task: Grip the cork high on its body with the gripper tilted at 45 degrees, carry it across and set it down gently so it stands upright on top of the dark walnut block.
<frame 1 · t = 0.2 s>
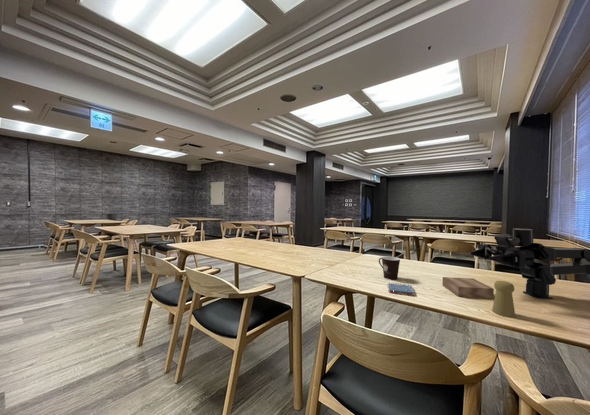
hand: (479, 255, 96), 17 cm above the table, tool horizontal, fingers open, 9 cm apart
cork: (503, 313, 81), on the table
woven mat: (400, 292, 101), on the table
walnut block: (466, 291, 101), on the table
coffee mug: (389, 277, 121), on the table
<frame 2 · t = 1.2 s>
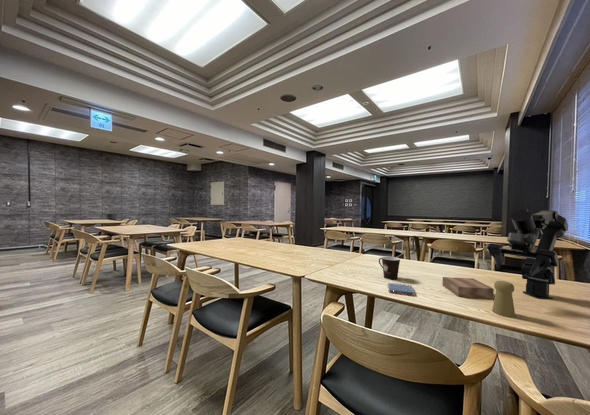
hand: (513, 271, 84), 13 cm above the table, tool tilted 45°, fingers open, 9 cm apart
nothing on the table moved.
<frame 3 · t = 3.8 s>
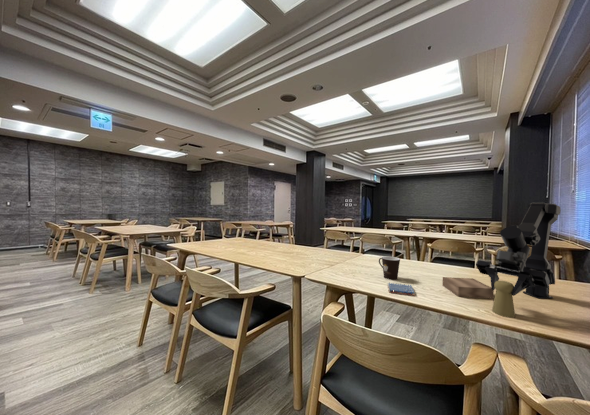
hand: (502, 292, 80), 8 cm above the table, tool tilted 45°, fingers closed on cork, 5 cm apart
cork: (503, 313, 81), on the table, touching gripper
everything else where it was.
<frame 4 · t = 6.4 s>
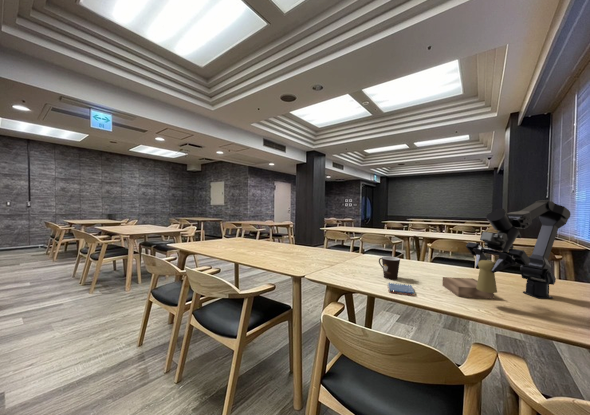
hand: (484, 270, 87), 13 cm above the table, tool tilted 45°, fingers closed on cork, 5 cm apart
cork: (486, 290, 87), point 6 cm above the table, touching gripper
everything else where it was.
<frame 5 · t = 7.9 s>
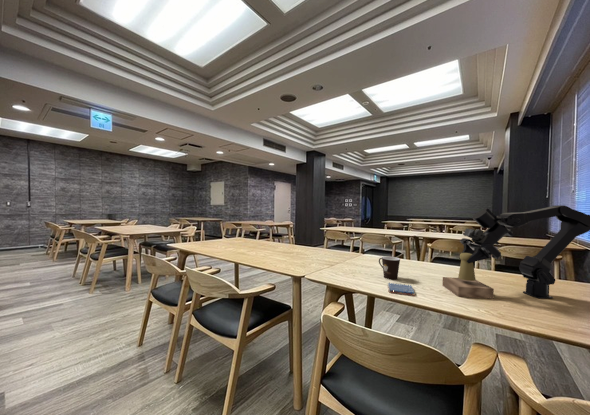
hand: (463, 260, 101), 13 cm above the table, tool tilted 45°, fingers closed on cork, 5 cm apart
cork: (466, 279, 101), point 5 cm above the table, touching gripper
everything else where it was.
when the fingers open (12 cm above the table, at t = 9.1 s): cork stays where it is, resting on walnut block.
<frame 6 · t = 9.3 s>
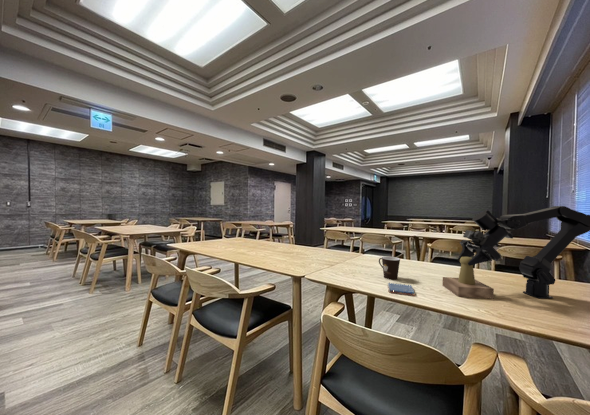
hand: (463, 262, 101), 13 cm above the table, tool tilted 45°, fingers open, 7 cm apart
cork: (466, 282, 101), point 4 cm above the table, touching walnut block
everything else where it was.
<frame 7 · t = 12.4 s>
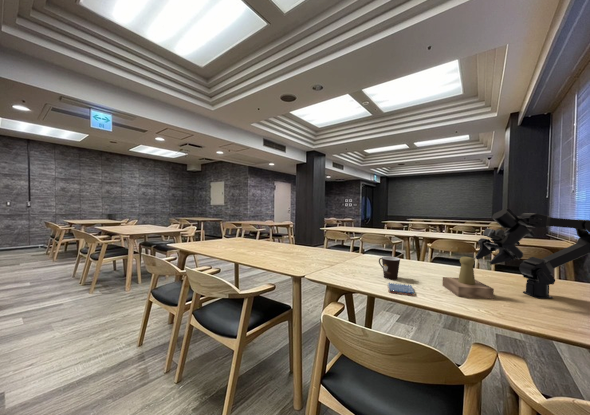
hand: (483, 261, 100), 14 cm above the table, tool tilted 45°, fingers open, 9 cm apart
nothing on the table moved.
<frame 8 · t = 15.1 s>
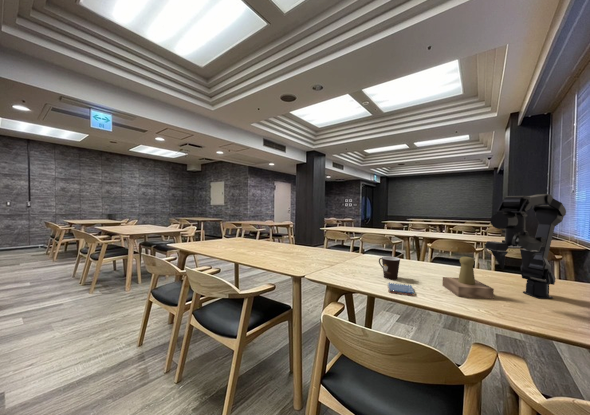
hand: (514, 268, 91), 13 cm above the table, tool pointing down, fingers open, 9 cm apart
nothing on the table moved.
at the end: cork inside the target area on the walnut block (0.1 cm from its centre), point 3.8 cm above the walnut block's base; cork tilted 0°; cork touching walnut block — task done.
